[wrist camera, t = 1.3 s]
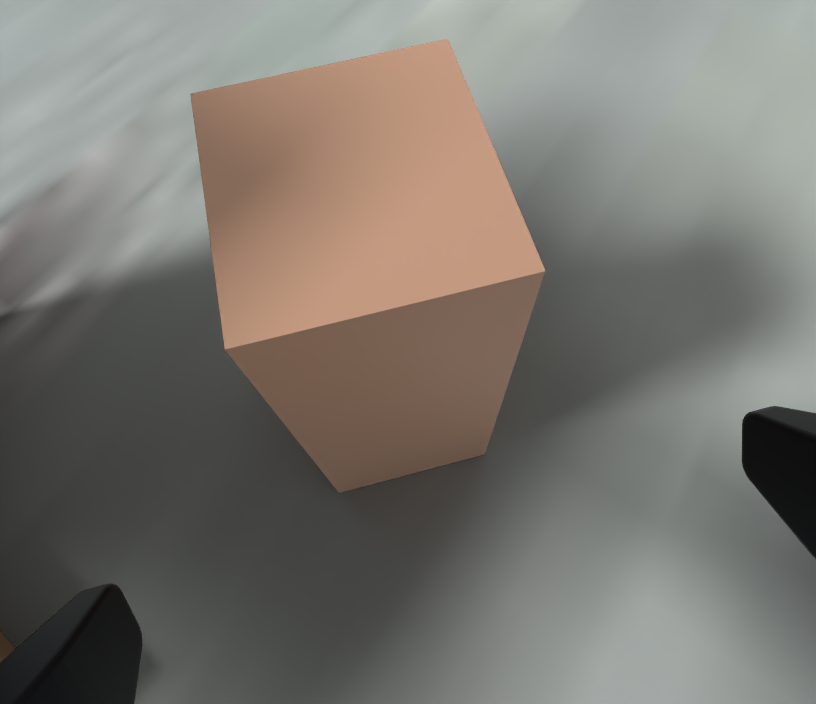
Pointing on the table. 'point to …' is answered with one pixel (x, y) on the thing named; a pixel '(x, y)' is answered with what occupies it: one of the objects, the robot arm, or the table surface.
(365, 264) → the terracotta box
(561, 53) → the table surface
